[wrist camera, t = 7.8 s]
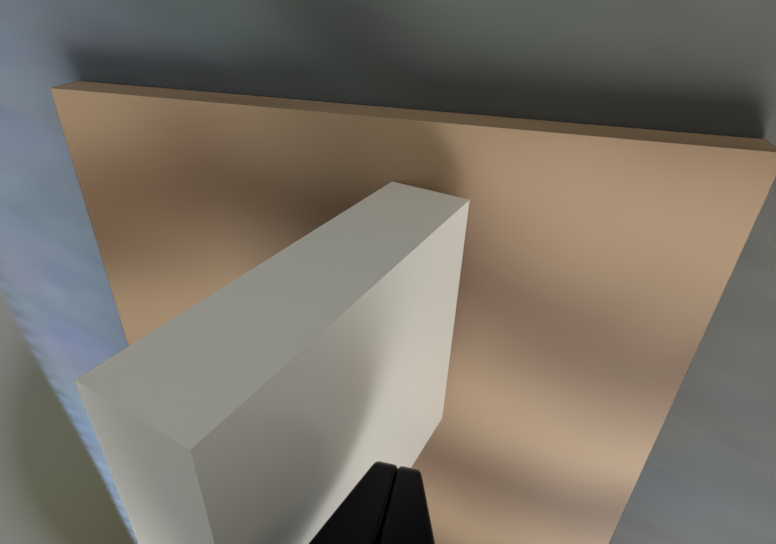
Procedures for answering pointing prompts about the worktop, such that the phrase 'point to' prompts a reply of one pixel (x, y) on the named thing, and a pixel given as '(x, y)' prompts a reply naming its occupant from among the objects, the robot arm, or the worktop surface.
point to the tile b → (287, 379)
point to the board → (478, 270)
